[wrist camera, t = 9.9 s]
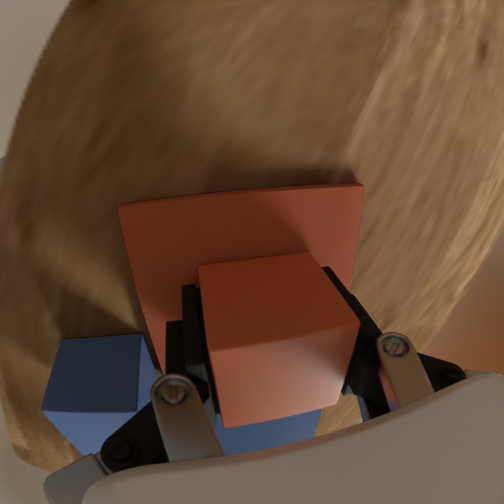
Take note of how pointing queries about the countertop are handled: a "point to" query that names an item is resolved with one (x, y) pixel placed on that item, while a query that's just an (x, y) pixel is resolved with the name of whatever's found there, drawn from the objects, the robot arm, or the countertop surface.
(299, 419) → the slate mat
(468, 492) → the robot arm
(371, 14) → the countertop surface
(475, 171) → the countertop surface
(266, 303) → the terracotta block
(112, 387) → the slate block
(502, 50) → the countertop surface
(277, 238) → the terracotta mat
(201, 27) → the countertop surface
